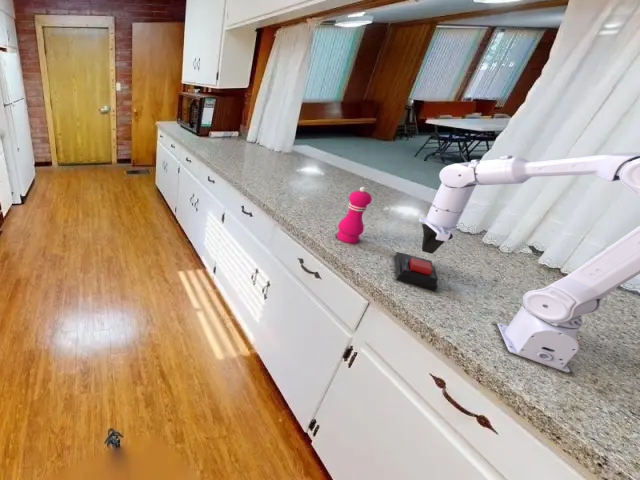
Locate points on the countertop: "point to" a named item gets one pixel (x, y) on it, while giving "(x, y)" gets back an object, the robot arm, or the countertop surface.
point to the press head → (420, 266)
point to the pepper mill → (354, 216)
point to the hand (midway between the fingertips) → (427, 251)
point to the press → (414, 273)
